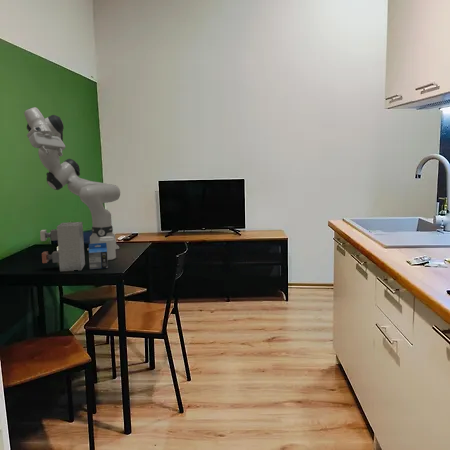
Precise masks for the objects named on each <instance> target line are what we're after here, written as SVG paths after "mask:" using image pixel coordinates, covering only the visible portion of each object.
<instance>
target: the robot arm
mask: <svg viewBox="0 0 450 450" xmlns="http://www.w3.org/2000/svg"><path fill="white" fill-rule="evenodd" d="M23 114H24V118H25V120H26V122H27V124H26V130H27V131H28V133H26V137H27V138H28V141H29V143H30V144H31V146H32V147H34V148H35V149H38V158H39V160H40V162H41V164H42V165H43V166H44V168H45V169H46V170H48V172H46V183H47V184H48V186H49V187H50V188H52V189H53V190H55V191H59V190H61V189H63V187H64V186H66V185H67V189H68V190H69V192H71V193H72V194H74V195H75V196H77V197H79V199H80V201H81V202H82V203H83V204H85V205H86V206H87V208H88V210H89V211H90V214H91V223H92V226H91V233H92V234H91V235H90V236H89V244H94V243H100V237H104V236H113V237H114V238H115V249H116V250H119V249H120V246H119V245H118V244H117V239H116V235H115V234H114V231H113V230H114V229H113V228H114V227H113V224H112V213H111V212H110V211H109V210H108V209H106V208H105V207H104V204H106V203H112V202H115V201H118V200H119V199H120V196H121V190H120V188H119V186H118V185H115V184H111V183H106V182H105V183H104V182H100V181H94V180H93V181H92V180H89V179H86V178H81V177H79V176H80V175H81V173H80V171H81V169H80V166H79V164H78V163H77V161H75V160H74V159H72V158H67V159H65V160H64V161H63V162H62V163H61V159H60V157H63V155H64V154H63V151H65V149H66V146H67V145H65V143H64V132H63V131H64V123H63V120H62V118H61V116H58V115H55V114H52V115H49V116H48V117H46V118H45V117H44V115H43V114H42V112H41V111H40V110H39V108H38V107H35V106H34V107H30V108H27V109H26V110H24V113H23ZM95 247H100V245H97V246H95ZM86 249H87V250H86V251H89V247H88V248H86Z"/></svg>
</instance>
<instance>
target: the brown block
mask: <svg viewBox="0 0 450 450" xmlns="http://www.w3.org/2000/svg"><path fill="white" fill-rule="evenodd" d="M41 260H42V261H41V262H42V264H48V262H49V261H50V260H52V254H49V251H43V252H42V253H41Z"/></svg>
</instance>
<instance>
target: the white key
mask: <svg viewBox="0 0 450 450" xmlns="http://www.w3.org/2000/svg"><path fill="white" fill-rule="evenodd" d="M47 231H48V230H47V229H41V230H40V231H39V233H40V235H39V236H40V242H45V241H47V240H48V238H50V239H51V232H47Z"/></svg>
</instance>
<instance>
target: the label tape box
mask: <svg viewBox="0 0 450 450" xmlns="http://www.w3.org/2000/svg"><path fill="white" fill-rule="evenodd" d="M97 245H101V246H100V247H95V246H97ZM88 248H89V250H88V264H89V270H97V269H108V268H109V262H108V261H109V260H108V258H107V245H106V243H94V244H90V243H88Z"/></svg>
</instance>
